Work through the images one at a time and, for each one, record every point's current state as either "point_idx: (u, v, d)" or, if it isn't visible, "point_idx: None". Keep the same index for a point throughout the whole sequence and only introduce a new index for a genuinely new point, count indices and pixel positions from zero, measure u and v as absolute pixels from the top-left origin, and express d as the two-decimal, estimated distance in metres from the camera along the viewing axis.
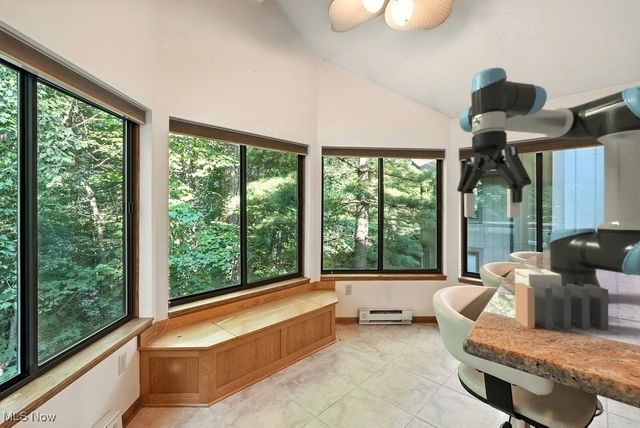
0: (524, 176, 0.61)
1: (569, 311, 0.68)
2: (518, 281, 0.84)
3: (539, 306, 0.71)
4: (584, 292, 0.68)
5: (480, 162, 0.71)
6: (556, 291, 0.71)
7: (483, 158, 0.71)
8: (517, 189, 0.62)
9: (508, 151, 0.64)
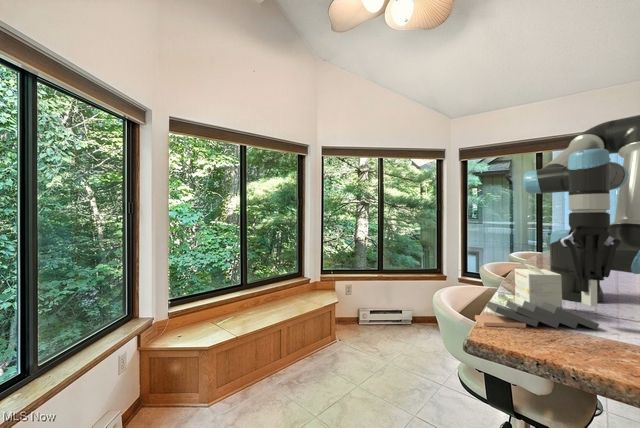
0: (572, 270, 0.71)
1: (541, 316, 0.69)
2: (518, 281, 0.84)
3: None
4: (537, 311, 0.70)
5: None
6: None
7: None
8: (579, 279, 0.71)
9: None
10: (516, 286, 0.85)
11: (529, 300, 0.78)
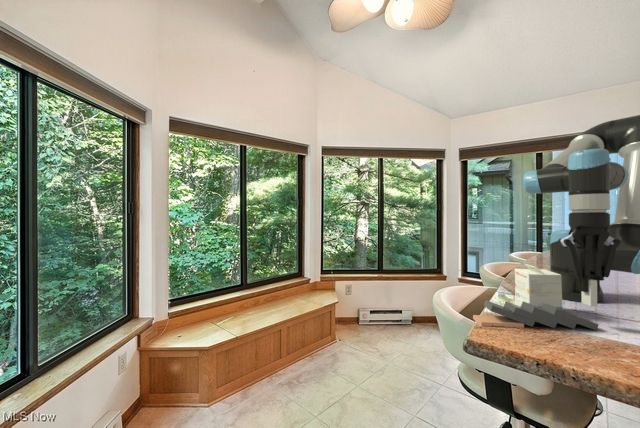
0: (572, 270, 0.71)
1: (538, 317, 0.69)
2: (518, 281, 0.84)
3: None
4: (536, 312, 0.69)
5: None
6: None
7: None
8: (579, 279, 0.71)
9: None
10: (516, 286, 0.85)
11: (529, 300, 0.78)
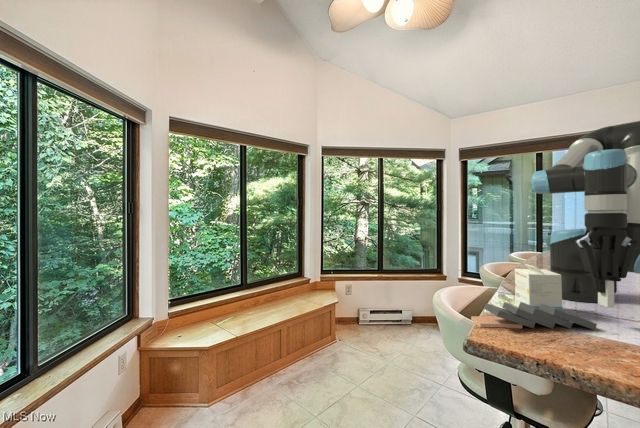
0: (588, 270, 0.70)
1: (538, 318, 0.69)
2: (518, 281, 0.84)
3: None
4: (536, 313, 0.69)
5: None
6: None
7: None
8: (595, 280, 0.71)
9: None
10: (516, 286, 0.85)
11: (529, 300, 0.78)
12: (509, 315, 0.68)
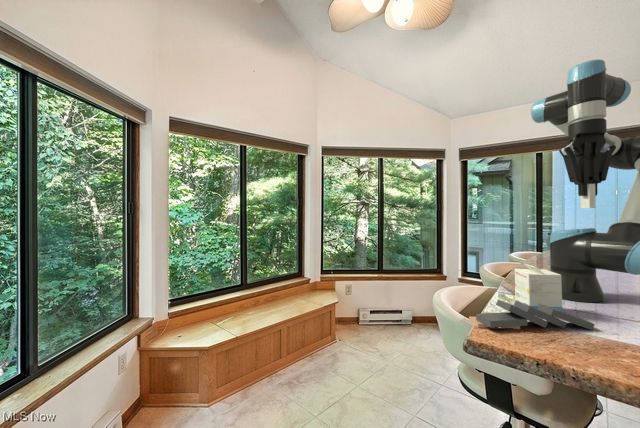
0: (572, 176, 0.76)
1: (531, 316, 0.68)
2: (518, 281, 0.84)
3: None
4: (531, 311, 0.69)
5: None
6: None
7: None
8: (578, 185, 0.76)
9: None
10: (516, 286, 0.85)
11: (529, 300, 0.78)
12: (501, 322, 0.67)
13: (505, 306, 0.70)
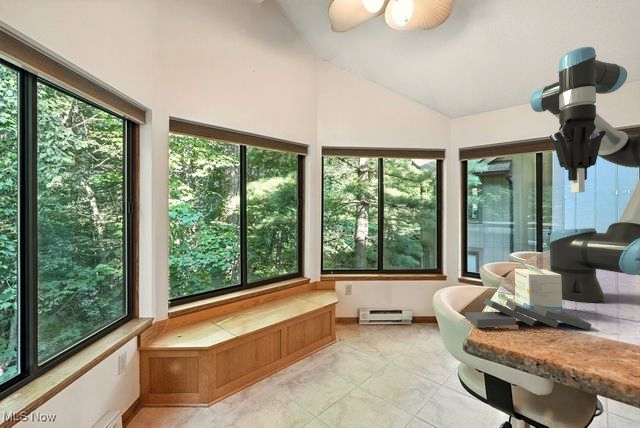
0: (562, 161, 0.78)
1: (516, 313, 0.70)
2: (518, 281, 0.84)
3: None
4: (518, 310, 0.71)
5: None
6: None
7: None
8: (568, 170, 0.78)
9: None
10: (516, 286, 0.85)
11: (529, 300, 0.78)
12: (488, 320, 0.68)
13: (489, 303, 0.73)
